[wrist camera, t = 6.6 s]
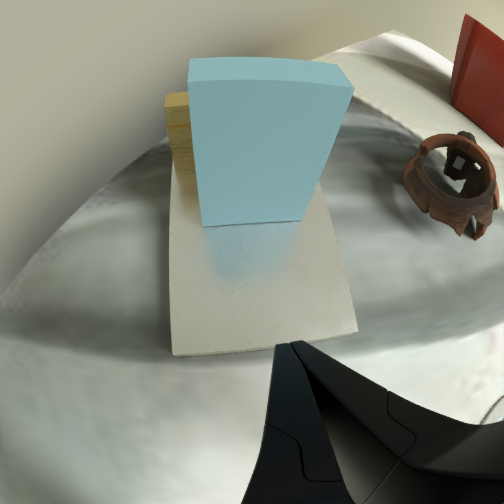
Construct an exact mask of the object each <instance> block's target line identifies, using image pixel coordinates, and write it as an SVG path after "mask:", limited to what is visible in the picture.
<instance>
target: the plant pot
mask: <svg viewBox="0 0 504 504" xmlns="http://www.w3.org/2000/svg"><path fill="white" fill-rule="evenodd" d="M451 103H452V105H453V106H454V107H455V108H457V109H458V110H459V111H461V112H462V113H463V114H465V115H466V116H467V117H468V118H470V119H471V120H472V121H473V122H475V123H476V124H477V125H478V126H480V127H481V128H482V129H483V130H484V131H485V132H487V133H488V134H489V135H490V136H491V137H492V138H493V139H494V140H496V141H497V142H498V143H499V144H500V145H501V146H502V147H504V40H502V39H501V38H500V37H499V36H497V35H496V34H495V33H493V32H492V31H491V30H489V29H488V28H486V27H485V26H484V25H482V24H481V23H480V22H478V21H477V20H475V19H474V18H472V17H470V16H469V15H467V14H465V16H464V20H463V24H462V28H461V32H460V37H459V41H458V45H457V50H456V56H455V61H454V66H453V72H452V78H451Z"/></svg>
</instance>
